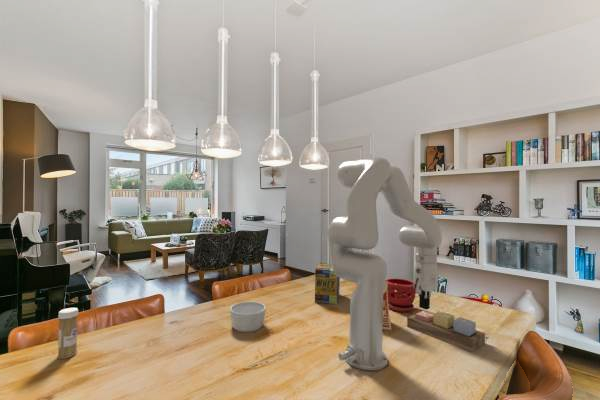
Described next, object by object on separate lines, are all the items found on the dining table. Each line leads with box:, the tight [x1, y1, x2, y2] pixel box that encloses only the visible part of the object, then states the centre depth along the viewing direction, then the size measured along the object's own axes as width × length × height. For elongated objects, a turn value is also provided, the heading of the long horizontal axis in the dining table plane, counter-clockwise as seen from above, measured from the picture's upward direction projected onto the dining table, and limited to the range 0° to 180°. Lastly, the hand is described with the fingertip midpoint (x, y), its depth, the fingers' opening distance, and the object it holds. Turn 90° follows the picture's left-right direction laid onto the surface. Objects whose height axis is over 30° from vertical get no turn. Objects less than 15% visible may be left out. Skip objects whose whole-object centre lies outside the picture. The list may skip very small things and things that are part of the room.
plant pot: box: [386, 278, 416, 313], centre depth 130 cm, size 13×13×12 cm
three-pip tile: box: [415, 310, 435, 323], centre depth 110 cm, size 5×5×4 cm
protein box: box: [314, 262, 341, 305], centre depth 141 cm, size 10×15×16 cm
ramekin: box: [229, 301, 267, 333], centre depth 108 cm, size 13×13×7 cm
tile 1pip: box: [453, 316, 477, 336], centre depth 98 cm, size 5×5×4 cm
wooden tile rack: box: [406, 313, 486, 353], centre depth 104 cm, size 10×23×3 cm, turn 37°
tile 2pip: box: [433, 310, 455, 329], centre depth 104 cm, size 5×5×4 cm
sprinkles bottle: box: [57, 307, 79, 360], centre depth 86 cm, size 5×5×14 cm
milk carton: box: [383, 279, 393, 331], centre depth 112 cm, size 9×9×20 cm
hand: (424, 307), depth 109 cm, fingers closed
